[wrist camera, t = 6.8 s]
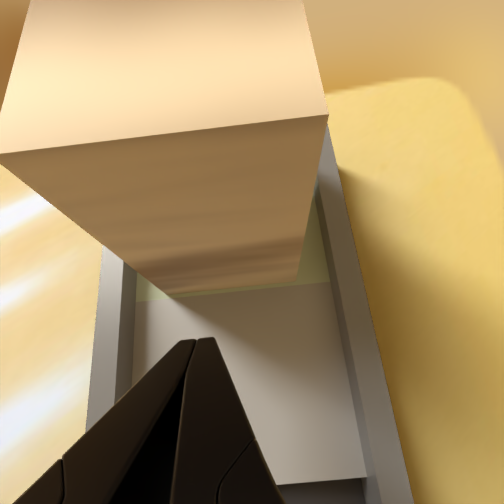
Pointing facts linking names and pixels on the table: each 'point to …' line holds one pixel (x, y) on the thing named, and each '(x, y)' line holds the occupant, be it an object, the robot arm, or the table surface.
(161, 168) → the block
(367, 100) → the table surface
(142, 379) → the robot arm
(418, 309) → the table surface
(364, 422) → the box
